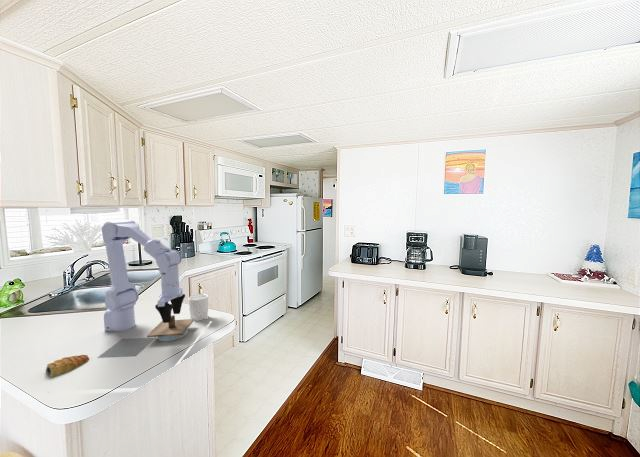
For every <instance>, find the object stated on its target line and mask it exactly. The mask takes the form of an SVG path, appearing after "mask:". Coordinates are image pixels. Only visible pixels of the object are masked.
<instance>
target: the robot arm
mask: <svg viewBox="0 0 640 457" xmlns="http://www.w3.org/2000/svg"><path fill="white" fill-rule="evenodd" d="M100 229H101V234H102V239H103V240H102V242H103V243H104V245H105V250H106V256H107V262H108V263H107V264H108V268H109V274H110V279H111V286H110V287H109V288H108V289H107V290H106V291H105V300H104V305H105V307H106V308H107V309H106V310H105V312H104V315H103V323H104V324H103V327H104V331H105V332H106V331H111V332H113V331H114V332H123V331H126V330H130V329H132V328H134V327H135V326H136V316H135V305H137V301H138V300H139V297H140V295H139V292H138V290H137V288H136V287H137V286H136V285H135V284H133V283H132V282H130V281H129V276H128V270H127V264H126V258H125V251H124V243H125V242H127V240H130V239H132V240H133V241H135V242H137V243H138V244H139V245H141V246H143V249H144V250H143V251H144V252H145V253H146V254H148V255H149V256H150V257H152V258H153V259H155V262H156V265H157V268H158V271H159V273H160V279H161V280H160V281H161V282H160V283H161V296H160V298H159V300H158V301H157V304H155V306H154V307H155V310H157V312H158V314H160V317H161V321H163V323H169V322H170V320H171V316H172V313H173V315H180V313H181V310H182V305H183V302H184V299H185V298H186V294H184V293H183V290H184V289H183V288H182V287H180V278H179V274H180V273H179V272H180V271H179V264H181V262H182V254H181V253H180V252H179V251H178V250H177V249H171V248H169V247H167V246H166V245H165V244H163V243H162V242H161V240H159V239H152V238H151V237H149V236H148V234H146V233H145V232H143V230H142V229H141V228H140V226H139V224H138V223H137V222H136V221H134V220H132V219H129V220H120V221H119V220H118V221H116V220H115V221H111V220H110V221H106V222H105V223H104V224H103V225H102V227H101V228H100ZM169 302H170V303H169Z"/></svg>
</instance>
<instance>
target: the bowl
mask: <svg viewBox="0 0 640 457" xmlns="http://www.w3.org/2000/svg"><path fill="white" fill-rule="evenodd" d="M188 333H189V328H188V329H187V330H186V331H185V333H184V334H183V335H173V336H160V337H157V340H158V341H160V342H172V341H175V340H179V339H182V338H183V337H185V336H186V335H187V334H188Z"/></svg>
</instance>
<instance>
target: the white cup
mask: <svg viewBox="0 0 640 457" xmlns="http://www.w3.org/2000/svg"><path fill="white" fill-rule="evenodd" d="M187 299H188V305H189V315H190V316H189V317H190V319H194V321H196V322H197V321H202V320H207V319H208V317H209V313H208V312H209V295H208V294H205V293H198V294H193V295H191V296H189V297H188V298H187ZM194 321H193V322H194Z"/></svg>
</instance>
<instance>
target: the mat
mask: <svg viewBox="0 0 640 457" xmlns="http://www.w3.org/2000/svg"><path fill="white" fill-rule="evenodd" d="M156 339H157V337H138V338H137V337H134V338H133V337H132V338H130V337H129V338H122V339H120V340H119V341H118V342H116V343H115V344H114V345H112V346H110V347H109V348H108V349H107V350H105V351H104V352H103V353H101V354H100V355H99V356H97V357H96V358H97V359H100V358H126V357H137V356H138V355H139V354H140V353H141V352H143V350H145V349H146V347H148V346H149V345H150V344H151V343H152V342H153V341H154V340H156Z"/></svg>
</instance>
